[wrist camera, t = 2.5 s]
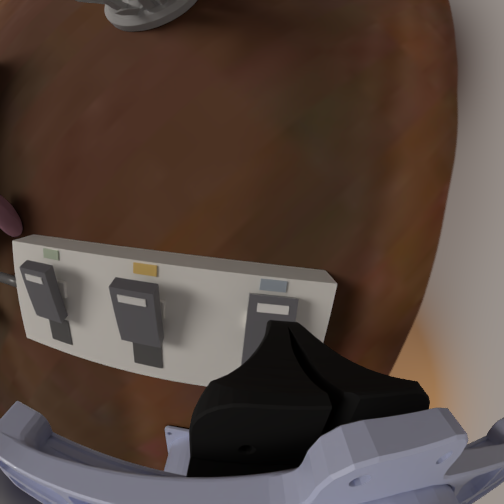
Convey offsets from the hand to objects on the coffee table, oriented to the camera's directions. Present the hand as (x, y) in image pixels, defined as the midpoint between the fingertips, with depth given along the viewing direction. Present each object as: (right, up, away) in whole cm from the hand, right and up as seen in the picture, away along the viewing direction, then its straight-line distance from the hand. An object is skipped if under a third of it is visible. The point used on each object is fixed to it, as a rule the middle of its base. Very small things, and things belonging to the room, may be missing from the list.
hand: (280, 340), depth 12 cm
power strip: (-11, 0, +9) cm, 14 cm away
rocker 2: (-8, 0, +4) cm, 9 cm away
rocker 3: (0, -1, +4) cm, 4 cm away
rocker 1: (-16, +1, +4) cm, 17 cm away
